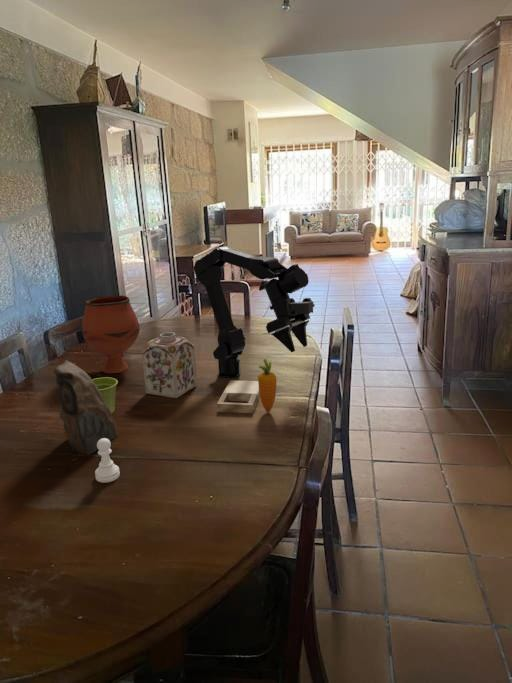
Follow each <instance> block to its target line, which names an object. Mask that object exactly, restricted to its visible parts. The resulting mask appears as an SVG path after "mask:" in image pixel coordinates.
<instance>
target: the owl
mask: <svg viewBox="0 0 512 683" xmlns="http://www.w3.org/2000/svg"><path fill="white" fill-rule="evenodd" d="M53 373H54V374H55V377H56V378H55V383H56V385H57V386H58V391H59V395H58V397H59V398H58V399H59V404H60V412H59V419H61V421H62V422H63V428H64V430H65V432H66V434H67V438H68V439H67V444H69V445H68V447H69V448H71V450H70V451H71V452H74V453H76V454H80V453H81V454H83V455H86V456H89V455H91V454H94V453H95V452H96V451H97V450H99V449H98V448H97V442H98V441H99V440H100V439H102V438H107V439H108V440H109V441H110V442H111V441H113V440H114V439H115V438H116V437H117V436H119V435H120V434H119V432H118V426H117V425H116V422H115V420H114V417H113V415H112V414H113V413H112V414H111V411H110V409H109V407H108V406H107V405H106V403H105V401H104V399H103V397H102V395H101V393H100V391H99V389H98V387H97V386H96V384H95V383H94V381H93V380H92V377H91V376H90V375H88V373H86V371H85V370H83V369H81V368H80V367H79V366H77V365H76V364H74V363H72V362H70V361H69V360H67V359H65V360H64V361H63V363H62V364H59V365H57V366H56V367H55V369H54V371H53Z"/></svg>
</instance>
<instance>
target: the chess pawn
mask: <svg viewBox="0 0 512 683" xmlns="http://www.w3.org/2000/svg"><path fill="white" fill-rule="evenodd" d="M111 443H112V442H111V441H109V440H108V439H107V438H102V439H100V440H99V441H98V442H97V448H98V449H97V450H98V451H97V455H98V456H100V457H101V459H100V462H99V464H98V468H96V469H95V471H94V474H95V481H97V482H98V483H102V484H103V483H111V482H115V481H116V480H118V478H119V477H120V475H121V473H120V467H119V466H118V465H116V464H115V463H114V460H112V459H111V458H110V454H111V453H112V449H111V446H112V445H111Z"/></svg>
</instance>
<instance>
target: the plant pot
mask: <svg viewBox="0 0 512 683" xmlns="http://www.w3.org/2000/svg"><path fill="white" fill-rule="evenodd" d="M91 379H92V378H91ZM92 380H93V381H94V383H95V384H96V386H97V387H98V389H99V391H100V393H101V395H102V397H103V399H104V401H105V403H106V405H107V406H108V407H109V409H110V411H111V414H113V413H114V412H115V407H116V404H115V402H116V389H117V385H118V383H119V381H118V379H116V378H114V377H108V376H105V377H97V378H93V379H92Z"/></svg>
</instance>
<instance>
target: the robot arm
mask: <svg viewBox="0 0 512 683" xmlns="http://www.w3.org/2000/svg"><path fill="white" fill-rule="evenodd" d="M279 261H280V260H279V259H278V258H276V257H273V256H272V257H271V256H255V255H252V254H248V253H245V252H241V251H238V250H237V249H234V248H233V249H232V248H230V247H229V246H219V247H215V248H214V249H213V250H212V251H210V252H209V253H207V254H206V255H204V256H203V257H201V258H200V259H197V260H196V261H195V262H194V265H193V272H194V274H195V277H196V278H197V280H198V282H199V283H200V284H201V285H202V286H204V288H205V290H206V293H207V296H208V299H209V303H210V305H211V309H212V312H213V315H214V318H215V321H216V324H217V328H218V333H217V344H218V346H217V347H216V348H215V349H214V351H212V355H213V357H214V359H215V360H218V362H217V363H218V364H217V365H218V373H217V377H218V378H237V377H238V376H239V374H241V368H242V367H241V359H239V356H241V355H242V354H243V352H244V350H245V346H246V337H245V335H244V330H243V328H238V327H237V326H235V325H234V322H233V319H232V316H231V312H230V309H229V307H228V304H227V303H228V302H227V300H226V297H225V294H224V291H223V288H222V284H221V281H222V275H223V274H222V268H223V267H224V266H225V265H226V264H229V265H233V266H235V267H239V268H241V269H244V270H247V271H248V272H249V273H250V274H251V276H254V277H255V278H256V279H259V280H262V281H261V282H260V285H259V287H258V288H259V289H258V291H259V292H261V291H263V290H265V292H266V294H267V297H268V299H269V302H270V306H269V309H270V311H271V310H273V312H274V314H275V317H276V318H275V319H273V320H271V321H269V322H267V323H266V326H265V328H266V329H265V330H266V331H267V334H270V333H271V334H270V335H271V336H273V337H274V338H275V339H277V340H278V341H279V342H280V343H281V344H282V345H283V346H284V347H285V348H286V349H287V350H288V351H289V352H291V353H294V352H295V351H296V348H295V344H294V341H293V336H292V335H291V334H293V335H294V337H295V338H296V339H297V340H298V342H299V343H300V344H301V345H302V347H307V346H308V339H307V325H308V324H309V322H310V319H311V315H310V314H311V313H312V314H313V313H314V307H315V306H316V305H315V304H314V300H313V301H312V299H311V298H310V297H305V298H303V299H302V301H295V298H293V297H291V298H290V294H292V293H295V292H297V291H299V290H301V289H304V288H305V287H307V286H308V285H309V276H308V273H306V272H305V270H303V268H301V267H300V266H299V264H298V263H296V264H292V265H290V266H289V267H288V268H287V267H286V266H285V265H283V264H281V263H280V262H279ZM266 279H267V280H266Z"/></svg>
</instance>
